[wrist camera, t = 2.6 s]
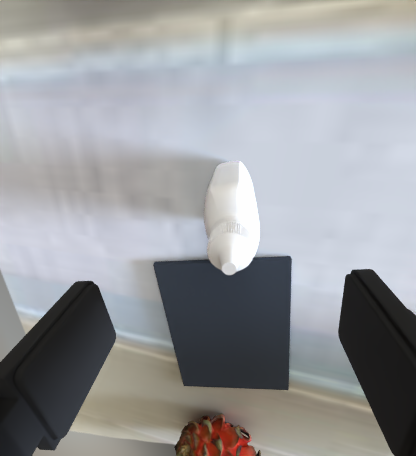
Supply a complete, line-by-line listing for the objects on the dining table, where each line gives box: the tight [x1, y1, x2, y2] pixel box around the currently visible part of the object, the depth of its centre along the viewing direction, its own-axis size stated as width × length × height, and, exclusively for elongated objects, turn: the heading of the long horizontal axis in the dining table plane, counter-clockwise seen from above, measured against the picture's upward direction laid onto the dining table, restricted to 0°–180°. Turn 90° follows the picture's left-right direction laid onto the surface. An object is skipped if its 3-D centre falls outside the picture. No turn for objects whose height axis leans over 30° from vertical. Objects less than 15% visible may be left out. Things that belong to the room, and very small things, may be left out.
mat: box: [153, 256, 292, 390], centre depth 29 cm, size 20×14×1 cm
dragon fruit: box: [175, 414, 261, 456], centre depth 35 cm, size 8×8×12 cm
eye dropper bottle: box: [204, 160, 260, 275], centre depth 17 cm, size 4×6×12 cm
